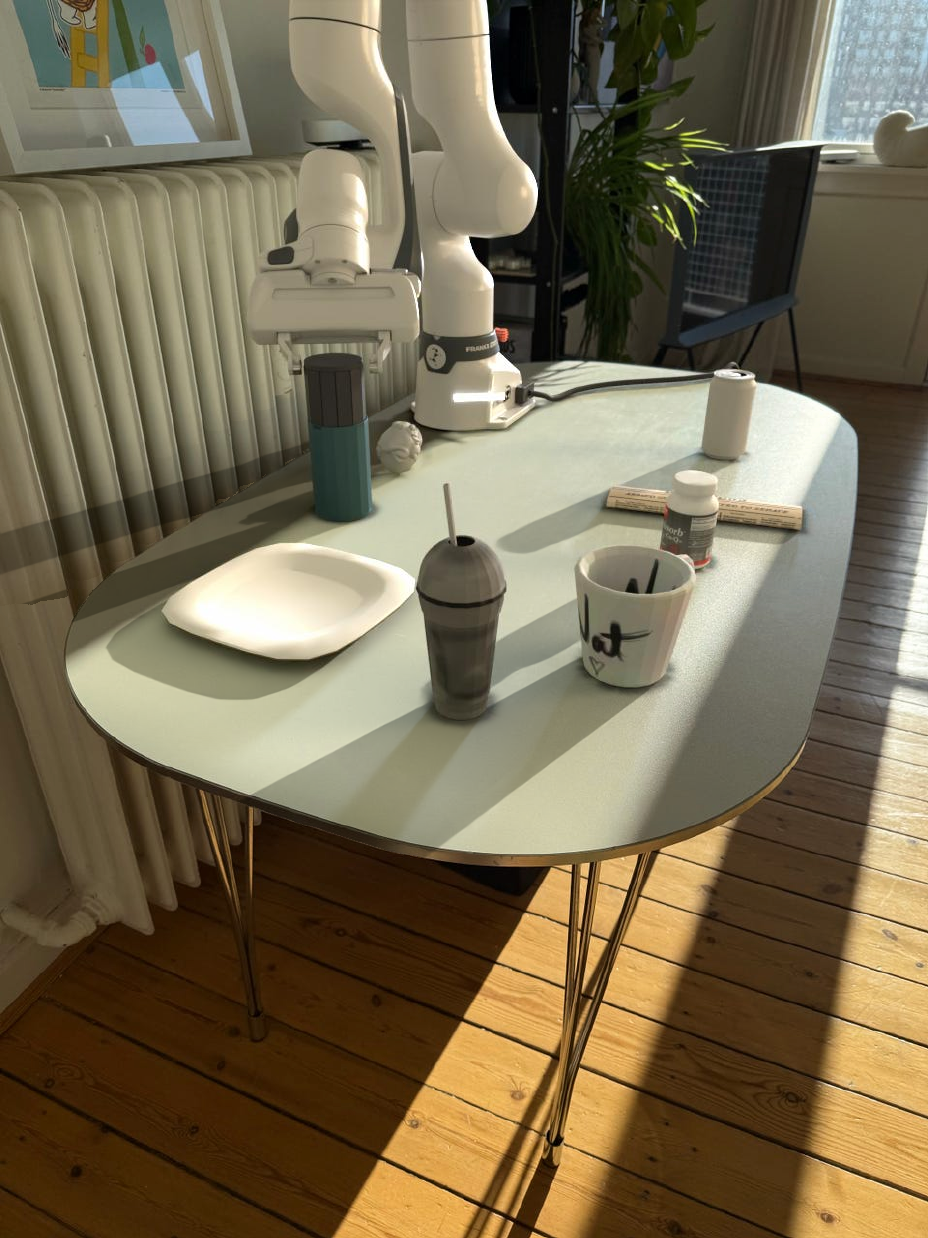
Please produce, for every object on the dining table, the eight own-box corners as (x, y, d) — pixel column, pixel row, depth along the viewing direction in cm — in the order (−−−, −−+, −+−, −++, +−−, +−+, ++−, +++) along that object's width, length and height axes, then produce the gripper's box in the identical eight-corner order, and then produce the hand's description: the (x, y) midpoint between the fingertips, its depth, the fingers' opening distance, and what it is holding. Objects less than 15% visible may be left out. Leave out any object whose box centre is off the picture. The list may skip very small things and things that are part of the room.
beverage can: (753, 458, 132) (767, 376, 126) (717, 463, 130) (729, 380, 124) (727, 445, 137) (739, 365, 131) (691, 450, 135) (702, 369, 129)
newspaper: (606, 509, 115) (607, 496, 114) (614, 490, 121) (615, 477, 120) (799, 533, 109) (802, 519, 108) (798, 511, 115) (801, 498, 114)
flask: (341, 495, 119) (333, 373, 111) (383, 507, 115) (378, 383, 107) (303, 512, 114) (291, 386, 106) (345, 526, 110) (337, 396, 102)
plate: (313, 687, 79) (312, 671, 78) (136, 627, 88) (133, 611, 88) (438, 588, 96) (438, 574, 95) (278, 545, 105) (277, 532, 104)
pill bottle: (649, 553, 104) (658, 471, 99) (691, 546, 105) (703, 465, 100) (676, 574, 99) (687, 489, 94) (720, 566, 101) (733, 483, 96)
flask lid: (335, 406, 112) (331, 349, 109) (376, 416, 109) (374, 358, 105) (296, 419, 108) (291, 360, 104) (338, 430, 104) (334, 369, 101)
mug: (544, 665, 83) (549, 567, 78) (640, 610, 92) (650, 520, 87) (637, 712, 76) (649, 610, 71) (730, 648, 85) (747, 553, 80)
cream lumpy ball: (432, 469, 127) (431, 421, 124) (400, 483, 122) (398, 434, 119) (399, 460, 130) (398, 413, 127) (367, 474, 126) (364, 425, 122)
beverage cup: (495, 735, 74) (501, 507, 64) (409, 724, 75) (402, 499, 65) (509, 686, 80) (516, 472, 70) (429, 677, 81) (425, 465, 71)
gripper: (419, 284, 113) (423, 383, 109) (254, 286, 111) (253, 387, 108) (419, 251, 106) (424, 355, 103) (244, 253, 105) (243, 358, 102)
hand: (335, 371), depth 105 cm, fingers open, 8 cm apart
